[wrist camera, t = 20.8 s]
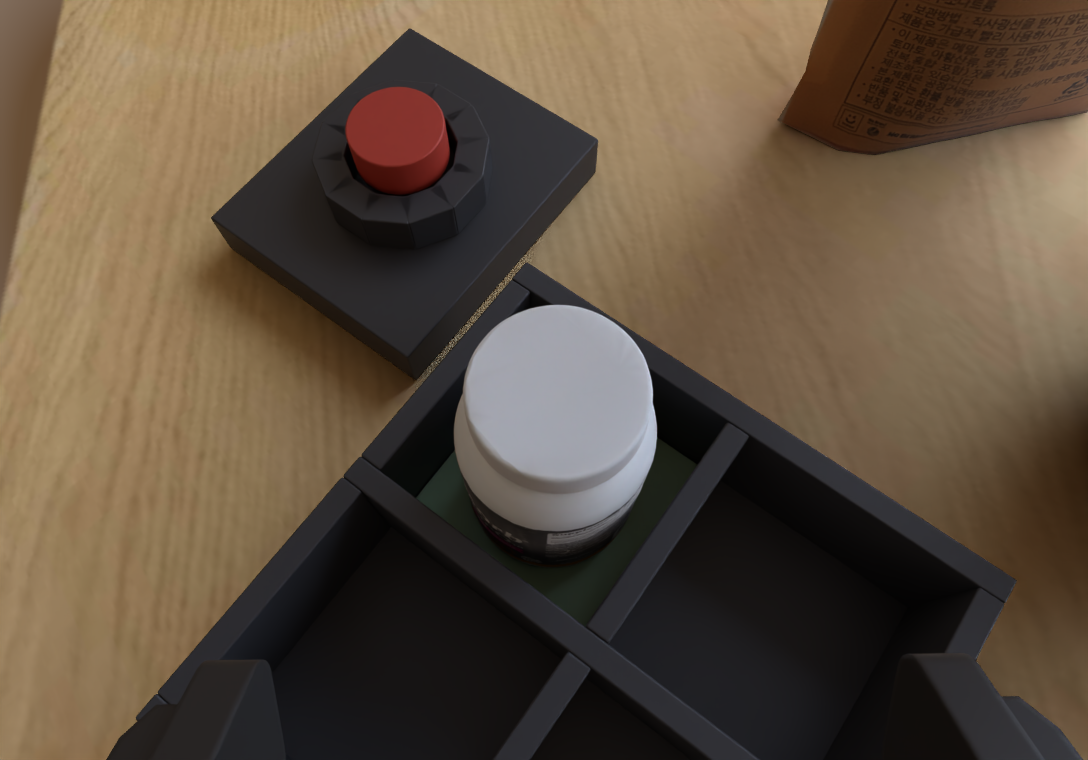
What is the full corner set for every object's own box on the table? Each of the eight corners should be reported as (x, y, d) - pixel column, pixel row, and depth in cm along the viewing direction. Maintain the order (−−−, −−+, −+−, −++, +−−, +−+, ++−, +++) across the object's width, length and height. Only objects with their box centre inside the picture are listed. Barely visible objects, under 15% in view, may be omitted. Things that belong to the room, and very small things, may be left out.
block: (416, 381, 32) (398, 336, 28) (230, 247, 34) (190, 190, 30) (596, 172, 35) (601, 108, 32) (416, 64, 38) (402, -7, 34)
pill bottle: (443, 465, 30) (396, 353, 20) (577, 386, 31) (590, 246, 21) (525, 604, 28) (515, 550, 18) (665, 515, 29) (721, 421, 20)
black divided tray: (651, 1116, 23) (682, 1230, 18) (212, 717, 27) (133, 718, 22) (932, 604, 28) (1018, 580, 23) (529, 334, 32) (526, 261, 27)
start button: (408, 212, 30) (400, 183, 29) (335, 164, 31) (323, 133, 30) (469, 147, 31) (465, 116, 30) (397, 103, 32) (389, 70, 31)
